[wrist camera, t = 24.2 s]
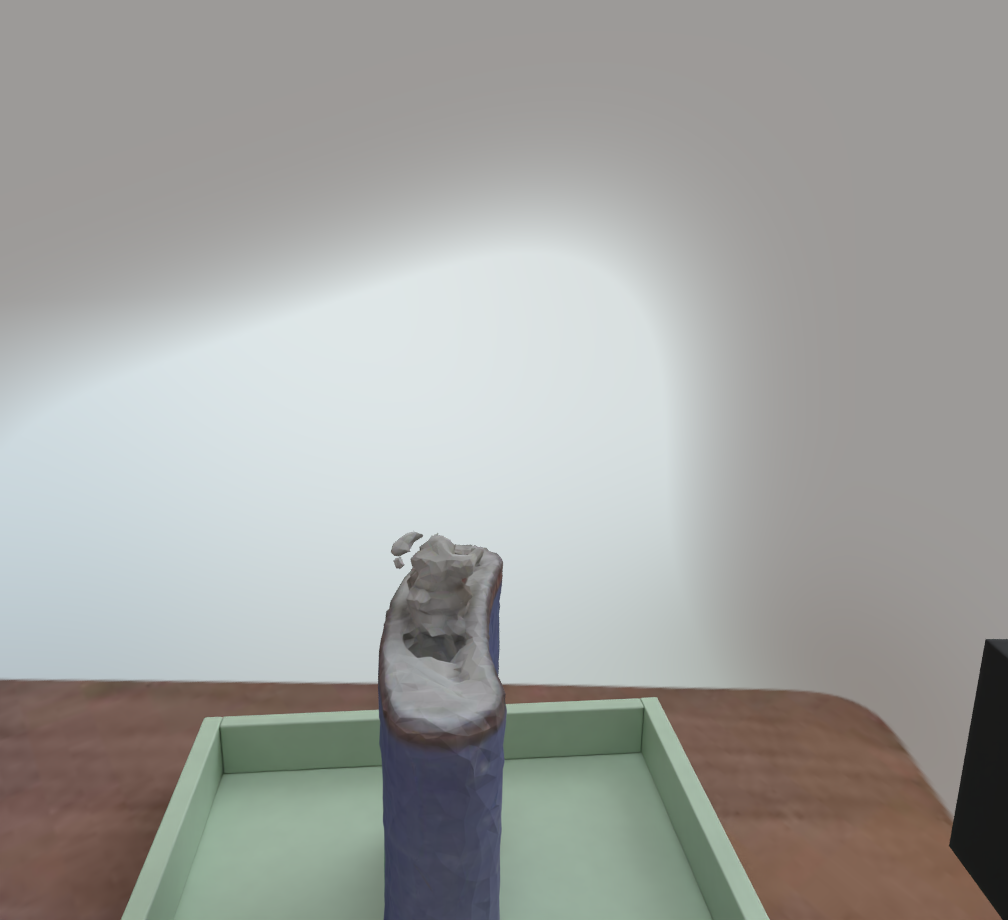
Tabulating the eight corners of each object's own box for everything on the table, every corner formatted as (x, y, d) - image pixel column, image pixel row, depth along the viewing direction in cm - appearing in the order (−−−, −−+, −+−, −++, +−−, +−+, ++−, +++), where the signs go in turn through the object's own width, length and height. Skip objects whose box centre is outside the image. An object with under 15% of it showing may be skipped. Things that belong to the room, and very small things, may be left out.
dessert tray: (652, 757, 30) (657, 696, 30) (872, 1252, 16) (890, 1156, 15) (209, 779, 29) (204, 716, 28) (4, 1352, 14) (-18, 1249, 14)
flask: (503, 1105, 18) (509, 634, 15) (360, 1105, 18) (339, 633, 15) (499, 810, 27) (502, 479, 24) (404, 810, 27) (396, 478, 24)
